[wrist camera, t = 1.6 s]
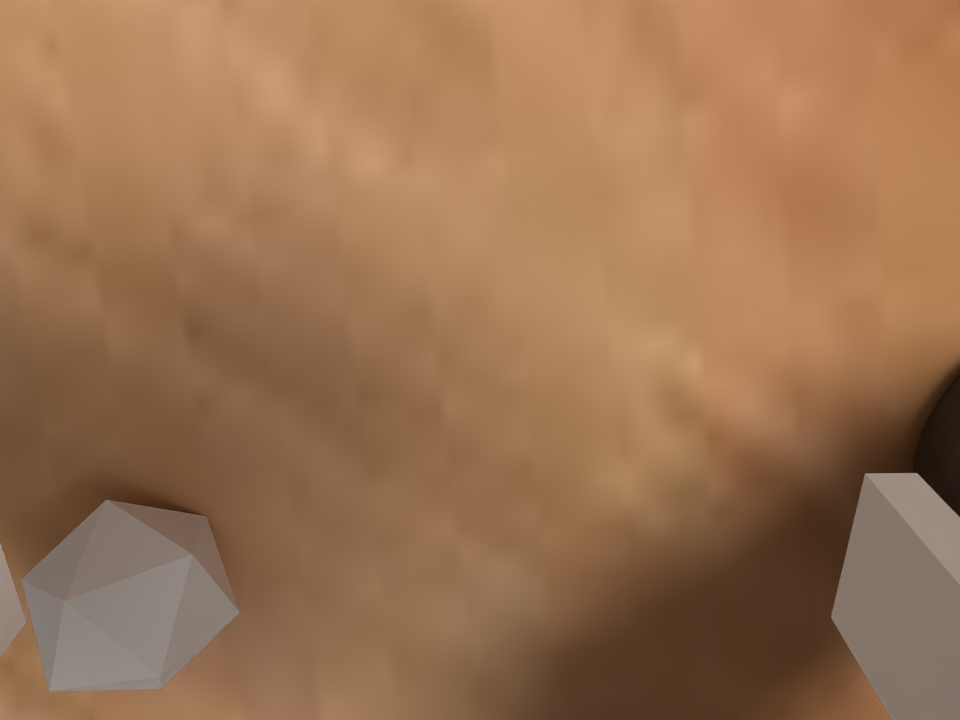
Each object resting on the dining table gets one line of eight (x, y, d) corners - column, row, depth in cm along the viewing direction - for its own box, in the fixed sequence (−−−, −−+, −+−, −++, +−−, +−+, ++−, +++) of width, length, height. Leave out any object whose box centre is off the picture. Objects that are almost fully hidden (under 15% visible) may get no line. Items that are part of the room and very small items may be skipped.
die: (111, 440, 37) (-66, 605, 32) (232, 491, 33) (52, 692, 27) (186, 534, 43) (47, 689, 37) (298, 589, 38) (160, 773, 33)
